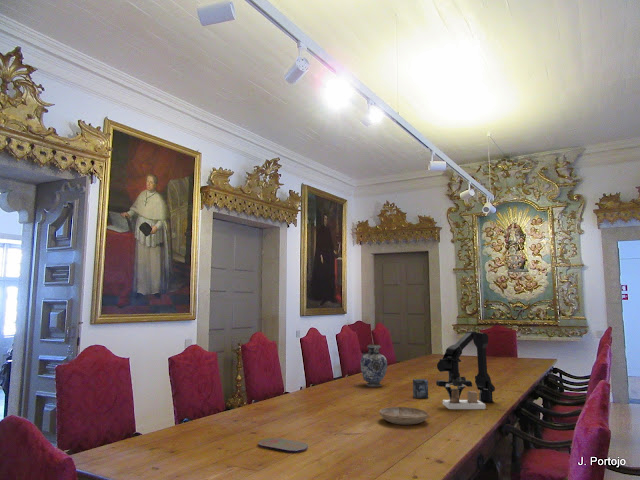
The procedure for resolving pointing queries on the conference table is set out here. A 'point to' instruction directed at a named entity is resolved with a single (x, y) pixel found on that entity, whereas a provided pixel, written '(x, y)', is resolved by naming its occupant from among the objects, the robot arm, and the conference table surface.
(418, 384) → the box
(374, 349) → the decorative vase
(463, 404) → the white block with holes
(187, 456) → the conference table surface
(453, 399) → the beige rectangular block
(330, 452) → the conference table surface
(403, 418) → the ceramic bowl
